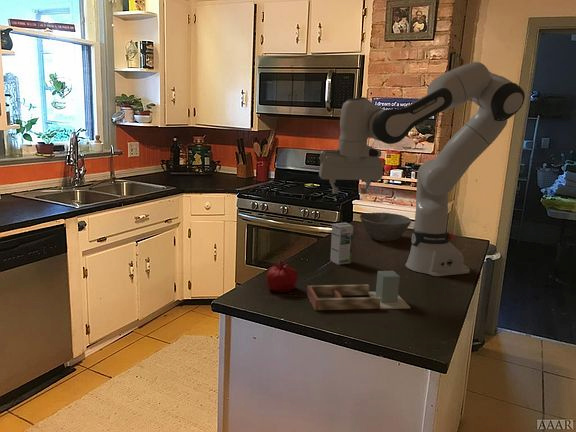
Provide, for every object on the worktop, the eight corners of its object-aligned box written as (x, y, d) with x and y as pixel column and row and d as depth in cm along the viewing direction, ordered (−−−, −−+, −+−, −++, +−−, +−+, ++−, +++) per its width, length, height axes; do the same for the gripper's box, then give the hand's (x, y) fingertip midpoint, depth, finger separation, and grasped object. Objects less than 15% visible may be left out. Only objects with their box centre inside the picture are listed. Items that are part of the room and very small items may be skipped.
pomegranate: (294, 297, 144) (296, 267, 142) (262, 293, 146) (263, 264, 144) (299, 285, 154) (301, 257, 151) (269, 281, 155) (270, 254, 153)
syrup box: (338, 265, 175) (340, 226, 172) (329, 260, 180) (332, 222, 177) (351, 263, 178) (354, 225, 175) (342, 258, 183) (344, 221, 180)
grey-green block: (391, 295, 147) (393, 270, 145) (397, 302, 142) (399, 276, 140) (375, 296, 146) (377, 271, 144) (381, 302, 141) (383, 276, 139)
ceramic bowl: (377, 230, 229) (379, 210, 227) (419, 241, 213) (421, 219, 210) (346, 237, 214) (348, 215, 212) (389, 249, 198) (391, 226, 196)
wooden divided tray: (367, 293, 149) (367, 284, 148) (379, 308, 138) (380, 298, 137) (310, 294, 146) (310, 285, 145) (318, 310, 135) (319, 300, 134)
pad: (394, 292, 151) (394, 291, 151) (410, 308, 139) (410, 307, 139) (366, 292, 149) (366, 291, 149) (380, 309, 137) (380, 307, 137)
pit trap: (335, 294, 147) (335, 284, 147) (345, 309, 136) (346, 299, 136) (306, 294, 146) (307, 285, 145) (315, 310, 135) (315, 300, 134)
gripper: (322, 150, 147) (320, 194, 150) (386, 151, 150) (382, 195, 153) (317, 148, 153) (315, 191, 156) (379, 150, 156) (376, 192, 159)
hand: (349, 193), depth 154 cm, fingers open, 8 cm apart
